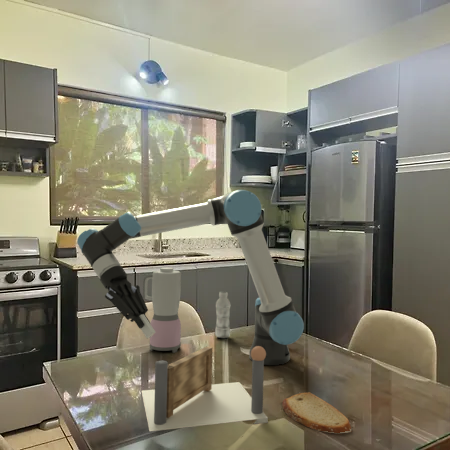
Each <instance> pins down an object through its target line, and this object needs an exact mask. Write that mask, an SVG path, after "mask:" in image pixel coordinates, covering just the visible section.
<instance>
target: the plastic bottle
mask: <svg viewBox="0 0 450 450" xmlns="http://www.w3.org/2000/svg"><path fill="white" fill-rule="evenodd" d="M218 293H219V294H218V297H219V298H218V299H217V300H216V301H215V312H216V324H215V331H214V332H215V337H216V338H219V339H228V338H230V335H231V327H230V310H231V302H230V300H229V298H228V297H229V292H227V291H219V292H218Z"/></svg>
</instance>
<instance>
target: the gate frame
mask: <svg viewBox="0 0 450 450" xmlns="http://www.w3.org/2000/svg"><path fill="white" fill-rule="evenodd" d="M251 357H252V359H253V361H252V360H251V363H252V368H251V370H252V371H251V372H252V373H251V395H250V394H249V393H248V391H247V390H246V389H245V387H243V385H242V384H241V382H239V381H238V382H237V381H236V382H224V383H215V384H213V383H212V389H211V390H210V391H208V392H207V391H202V392H201V393H199V394H197V395H196V396H194V397H193V398H191V399H190V400H188V401H187V402H185V403H184V404H182V405H181V406H179V407H177V408H176V409H174V410H173V415H172V416H171V417H169V418H166V412H167V368H168V365H169V364H168V361H167V360H156V361H155V363H154V364H155V366H154V367H155V368H154V389H143V390H141V395H142V401H143V405H144V410H145V415H146V419H147V420H146V421H147V426H148V430H149V432H157V431H165V430H166V431H167V430H175V429H182V428H183V429H184V428H191V427H201V426H210V425H217V424H218V425H219V424H220V425H221V424H227V423H228V424H229V423H235V422H245V421H254V420H255V422H253V423H252V424H253V425H258V424H266V423H267V424H268V421H269V417H268V416H267V415H266V414H265V412H264V410H263V409H264V408H263V407H264V371H265V370H264V369H265V366H264V359H265V357H266V351H265V349H264V348H263V347H261V346H256V347H254V348H253V349H252V350H251Z"/></svg>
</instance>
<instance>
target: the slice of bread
mask: <svg viewBox="0 0 450 450" xmlns="http://www.w3.org/2000/svg"><path fill="white" fill-rule="evenodd" d="M281 407H282V409H283V412H284V413H285V415H287V416H288V417H289V418H291V419H292V420H293V421H295V422H296V423H299V424H301V425H303V426H305V427H307V428H309V427H310V428H309V429H312V430H314V429H315V431H318V432H321V431H328V432H334V433H340V432H345V431H350V429H351V428H352V426H351V422H350V421H349V418H347V416H346V415H344V414H343V412H341V411H340V410H339V409H337V408H336V407H334V406H333V405H332V404H330V403H328V402H327V401H325V400H323V398H320V397H318V396H316V394H314V393H311V392H310V391H308V392H307V391H306V392H300V393H297V394H293V395H291V396H289V397H287V398H285V397H284V399H283V400H282V406H281Z"/></svg>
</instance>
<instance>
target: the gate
mask: <svg viewBox="0 0 450 450" xmlns="http://www.w3.org/2000/svg"><path fill="white" fill-rule="evenodd" d="M212 381H213V347H212V346H208V345H207V346H204V347H203V348H200V349H199V350H197V351H194V352H191V353H190V354H189V355H188V354H187V355H186V356H184V357H182V358H179V359H178V360H175V361H174V362H171V363H169V364H168V368H167V412H166V418H169V417H171V416H172V415H173V410H174V409H176V408H177V407H179V406H181V405H182V404H184V403H185V402H187V401H188V400H190V399H191V398H193V397H194V396H196V395H197V394H199V393H201V392H202V391H207V392H208V391H210V390H211V389H212V384H213V383H212Z"/></svg>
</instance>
